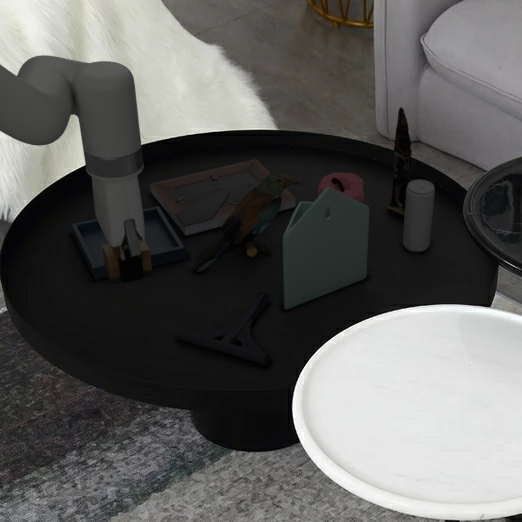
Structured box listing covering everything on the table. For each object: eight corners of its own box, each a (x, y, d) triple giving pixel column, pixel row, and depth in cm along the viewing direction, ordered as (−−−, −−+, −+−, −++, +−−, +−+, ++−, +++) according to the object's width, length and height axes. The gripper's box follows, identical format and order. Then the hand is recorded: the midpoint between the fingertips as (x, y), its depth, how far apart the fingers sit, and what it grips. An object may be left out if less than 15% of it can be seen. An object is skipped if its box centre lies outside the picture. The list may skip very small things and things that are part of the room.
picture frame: (185, 237, 175) (295, 209, 183) (184, 225, 173) (295, 197, 182) (151, 194, 185) (256, 169, 194) (149, 182, 183) (256, 157, 192)
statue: (412, 226, 181) (420, 124, 168) (382, 212, 184) (388, 111, 171) (426, 218, 183) (435, 117, 170) (396, 203, 187) (403, 103, 174)
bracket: (305, 313, 160) (305, 299, 158) (264, 367, 149) (263, 352, 147) (225, 291, 163) (224, 277, 161) (179, 342, 153) (177, 328, 151)
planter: (340, 256, 172) (342, 152, 160) (367, 278, 168) (372, 173, 155) (259, 286, 165) (255, 180, 152) (285, 310, 160) (283, 203, 147)
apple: (363, 238, 177) (365, 189, 170) (314, 235, 177) (315, 186, 170) (365, 210, 184) (368, 162, 178) (319, 207, 184) (319, 159, 178)
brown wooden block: (111, 284, 142) (107, 258, 139) (105, 271, 145) (101, 245, 142) (152, 275, 145) (149, 249, 142) (145, 263, 147) (142, 237, 144)
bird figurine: (209, 285, 163) (257, 173, 157) (177, 259, 168) (223, 149, 163) (268, 296, 173) (315, 191, 167) (236, 271, 179) (281, 168, 173)
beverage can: (420, 256, 173) (426, 196, 166) (397, 247, 175) (401, 187, 167) (434, 244, 177) (440, 184, 169) (411, 235, 178) (415, 176, 171)
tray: (94, 279, 164) (92, 268, 162) (73, 235, 173) (70, 223, 172) (186, 259, 170) (185, 247, 168) (160, 217, 179) (158, 205, 178)
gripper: (70, 134, 137) (88, 247, 149) (101, 192, 126) (117, 309, 138) (125, 126, 139) (138, 237, 151) (159, 182, 128) (170, 297, 140)
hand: (128, 270), depth 144 cm, fingers closed on brown wooden block, 3 cm apart
